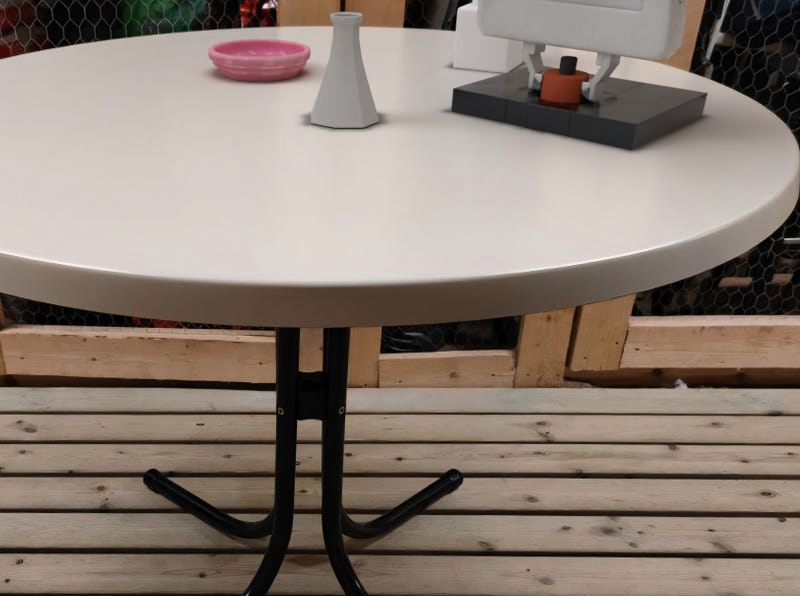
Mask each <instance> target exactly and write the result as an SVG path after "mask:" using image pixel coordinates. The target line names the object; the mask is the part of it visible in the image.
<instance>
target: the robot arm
mask: <svg viewBox="0 0 800 596" xmlns="http://www.w3.org/2000/svg"><path fill="white" fill-rule="evenodd" d="M687 8H688V0H479V1H478V9H477V25H478V27H479V29H480V32H481V33H482V35H484V36H490V37H497V38H504V39H510V40H517V41H523V49H522V55H523V61H524V62H525V65H526V66H525V67H527V68H528V71H529V72H530V76H529V84H528V89H529V90H532V91H538V92H541V90H542V83H543V76H544V72H545V71H544V70H545V69H544V66H545V65H544V63H543V59H542V56H541V55H542V54H541V53H544V52H546V48H547V46H551V47H558V48H565V49H570V50H576V51H577V50H578V51H584V52H589V53H590V52H591V53H596V54H597V55H596V61H595V64H596V65H597V66H600V67H599V69H598V70H597V72H595V73H594V74H595V76H594V77H593V79H589V80H586V81H583V82H582V86H581V90H582V92H581V93H580V99H581V100H585V101H590V102H596V101H599V100H600V99H601V97H602V92H603V87H604V82H605V81H606V80H607V79H608V78H609V77H611V75H612V74H613V73H614V72H615V70H616V69H617V68H618V67H619V65H620V62H621V58H622V57H624V58H629V59H630V58H631V59H637V60H643V61H644V60H645V61H651V62H660V61H662V60H666V59H669V58H670V57H672V56H673V55H674V54H675V53H676V52H678V51H679V49H680V48H681V46H682V43H683V39H684V33H685V26H686V18H687Z"/></svg>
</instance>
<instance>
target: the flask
mask: <svg viewBox="0 0 800 596" xmlns="http://www.w3.org/2000/svg"><path fill="white" fill-rule="evenodd" d="M329 16H330V17H329V18H330V22H331V23H332V38H331V39H332V40H331V45H330V52H329V58H328V61H327V64H326V67H325V71H324V74H323V77H322V80H321V83H320V87H319V89H318V93H317V95H316V99H315V101H314V104H313V107H312V109H311V113H310V124H314V125H319V126H325V127H329V128H334V129H335V128H345V129H347V128H349V129H351V128H360V129H361V128H363V129H364V128H366V127H368V126H371V125H374V124H376V123H379V122H380V119H379V115H378V111H377V108H376V103H375V100H374V97H373V93H372V91H371V87H370V84H369V80H368V76H367V72H366V69H365V65H364V61H363V56H362V48H361V42H360V40H361V39H360V25H361V23H362V22H363V19H364V17H363V13H361V12H354V11H338V12H333V13H329Z"/></svg>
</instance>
